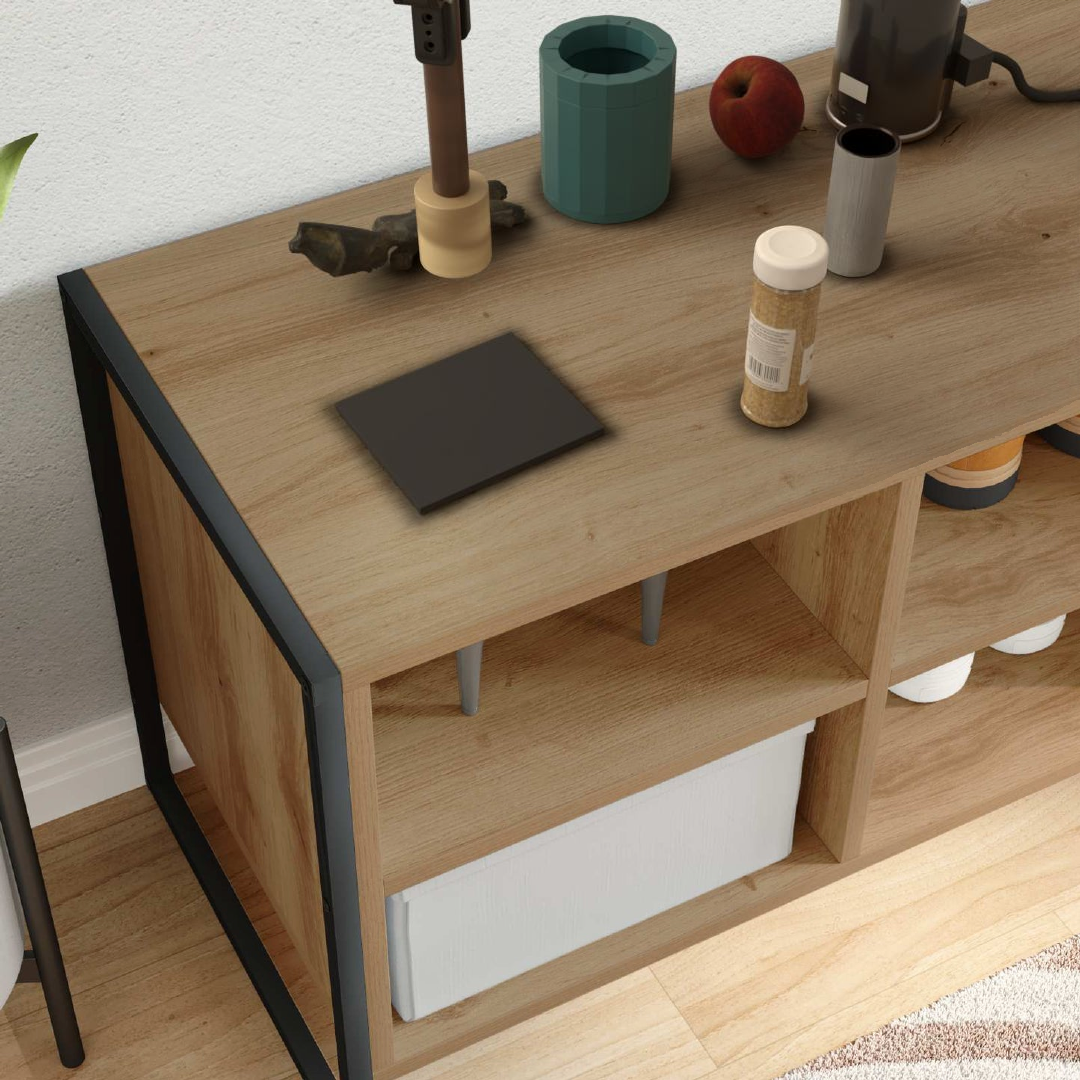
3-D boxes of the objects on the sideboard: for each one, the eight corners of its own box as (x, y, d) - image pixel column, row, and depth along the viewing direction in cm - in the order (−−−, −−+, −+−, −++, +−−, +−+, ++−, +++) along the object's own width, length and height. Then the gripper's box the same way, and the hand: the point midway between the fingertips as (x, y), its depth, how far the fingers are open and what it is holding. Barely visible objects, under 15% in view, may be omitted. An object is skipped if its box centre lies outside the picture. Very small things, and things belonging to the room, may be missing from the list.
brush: (469, 227, 98) (451, -67, 85) (505, 263, 96) (493, -35, 82) (407, 250, 97) (378, -46, 83) (442, 287, 94) (419, -12, 80)
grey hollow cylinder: (842, 284, 116) (861, 163, 108) (807, 252, 118) (823, 132, 111) (893, 266, 117) (914, 146, 110) (857, 235, 120) (876, 115, 112)
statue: (490, 228, 126) (272, 283, 115) (492, 161, 123) (268, 212, 112) (540, 253, 122) (318, 313, 111) (542, 185, 119) (315, 239, 108)
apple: (689, 136, 130) (694, 47, 124) (772, 115, 132) (781, 26, 126) (730, 183, 125) (738, 92, 119) (816, 160, 127) (828, 70, 121)
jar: (622, 138, 130) (626, 2, 121) (694, 197, 124) (702, 58, 115) (519, 176, 126) (514, 38, 117) (587, 238, 120) (588, 98, 111)
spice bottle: (820, 413, 106) (845, 249, 96) (767, 439, 104) (787, 275, 95) (777, 376, 109) (797, 213, 99) (725, 401, 107) (740, 238, 97)
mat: (511, 337, 112) (511, 331, 112) (604, 434, 105) (604, 427, 105) (335, 409, 107) (334, 402, 107) (420, 515, 100) (419, 508, 100)
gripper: (459, -227, 68) (478, 124, 81) (533, -336, 78) (539, -6, 90) (295, -239, 70) (339, 108, 82) (387, -345, 79) (413, -18, 91)
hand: (443, 47), depth 86 cm, fingers closed on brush, 2 cm apart
